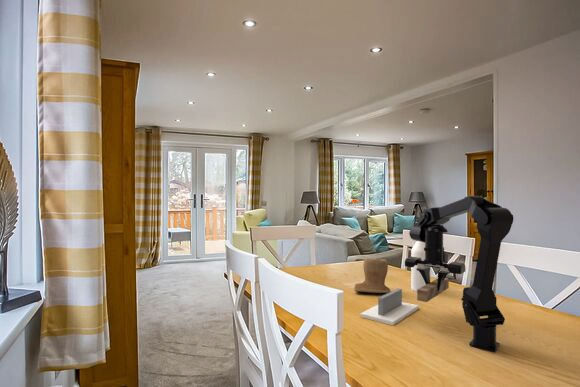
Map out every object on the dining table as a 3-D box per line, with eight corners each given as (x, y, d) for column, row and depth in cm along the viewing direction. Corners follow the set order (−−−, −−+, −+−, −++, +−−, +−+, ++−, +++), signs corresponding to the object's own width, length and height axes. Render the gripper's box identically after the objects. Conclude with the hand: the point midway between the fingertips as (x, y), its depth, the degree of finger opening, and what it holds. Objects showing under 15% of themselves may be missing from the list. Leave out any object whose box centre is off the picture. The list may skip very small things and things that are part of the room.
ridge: (393, 325, 114) (393, 304, 114) (360, 316, 122) (360, 296, 122) (418, 308, 130) (418, 289, 130) (388, 302, 138) (388, 284, 138)
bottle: (431, 292, 151) (431, 223, 151) (411, 291, 153) (411, 223, 153) (429, 287, 159) (429, 222, 159) (410, 286, 161) (410, 221, 161)
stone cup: (388, 288, 157) (388, 255, 157) (391, 296, 146) (391, 260, 146) (354, 287, 160) (354, 254, 160) (354, 294, 149) (354, 259, 149)
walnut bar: (426, 302, 111) (426, 291, 111) (417, 300, 113) (417, 289, 113) (448, 287, 127) (448, 278, 127) (440, 286, 129) (440, 277, 129)
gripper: (470, 244, 120) (469, 289, 120) (416, 239, 132) (416, 280, 132) (460, 248, 111) (460, 297, 111) (404, 242, 124) (404, 286, 124)
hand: (433, 289), depth 120 cm, fingers closed on walnut bar, 3 cm apart
